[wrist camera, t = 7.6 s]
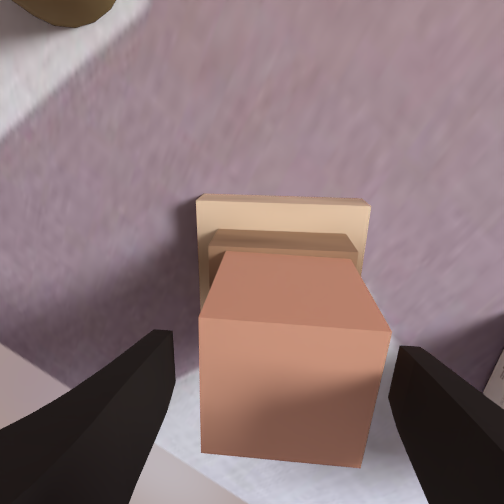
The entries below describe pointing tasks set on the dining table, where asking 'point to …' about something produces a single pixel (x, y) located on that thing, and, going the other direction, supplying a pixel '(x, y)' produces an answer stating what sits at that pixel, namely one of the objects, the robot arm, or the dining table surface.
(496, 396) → the small box
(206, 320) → the terracotta cube
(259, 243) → the walnut top slab
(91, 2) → the olive game pawn
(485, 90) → the dining table surface
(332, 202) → the birch base slab
